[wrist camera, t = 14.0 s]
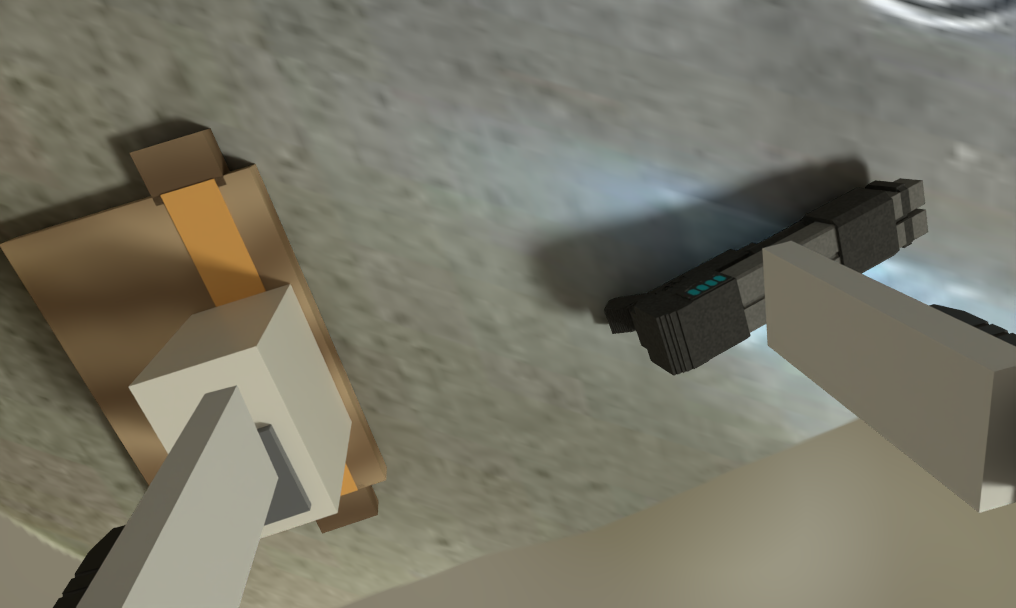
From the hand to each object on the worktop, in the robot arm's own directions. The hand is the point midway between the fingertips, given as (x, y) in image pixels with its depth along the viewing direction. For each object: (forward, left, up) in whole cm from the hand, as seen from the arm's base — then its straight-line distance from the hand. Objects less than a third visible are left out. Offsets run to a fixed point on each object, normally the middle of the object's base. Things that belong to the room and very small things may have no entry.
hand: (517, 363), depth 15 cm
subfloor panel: (+6, -17, -24) cm, 31 cm away
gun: (+10, +18, -25) cm, 32 cm away
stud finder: (+7, -14, -23) cm, 28 cm away
